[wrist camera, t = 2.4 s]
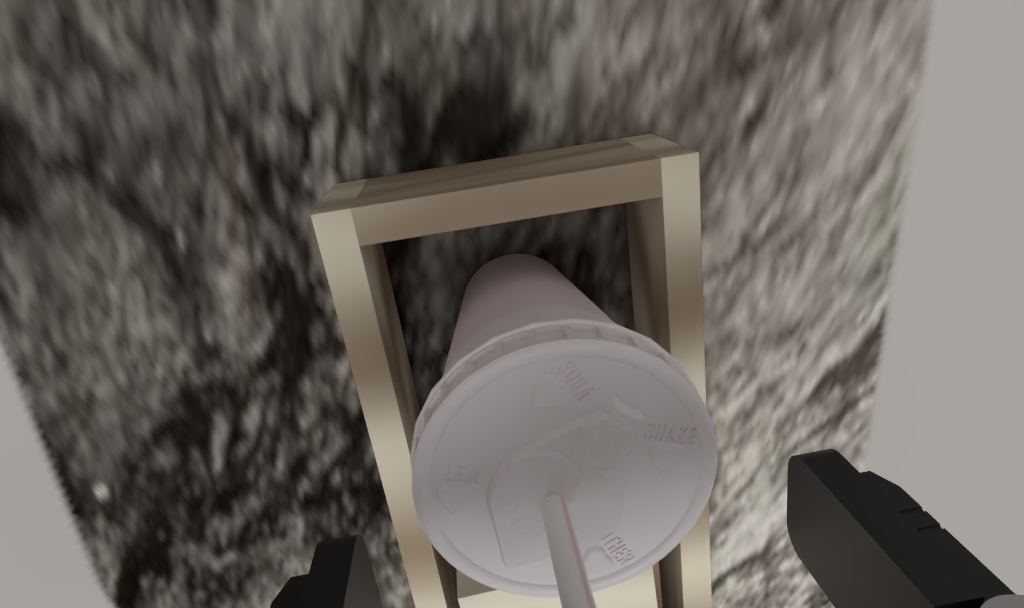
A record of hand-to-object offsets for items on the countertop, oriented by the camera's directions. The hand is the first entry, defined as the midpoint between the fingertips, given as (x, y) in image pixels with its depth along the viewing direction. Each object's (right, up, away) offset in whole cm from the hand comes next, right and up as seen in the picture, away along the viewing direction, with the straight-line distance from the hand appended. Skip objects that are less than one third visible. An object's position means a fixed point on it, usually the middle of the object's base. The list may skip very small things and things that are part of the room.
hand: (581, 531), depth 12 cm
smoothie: (-1, +4, +10) cm, 11 cm away
